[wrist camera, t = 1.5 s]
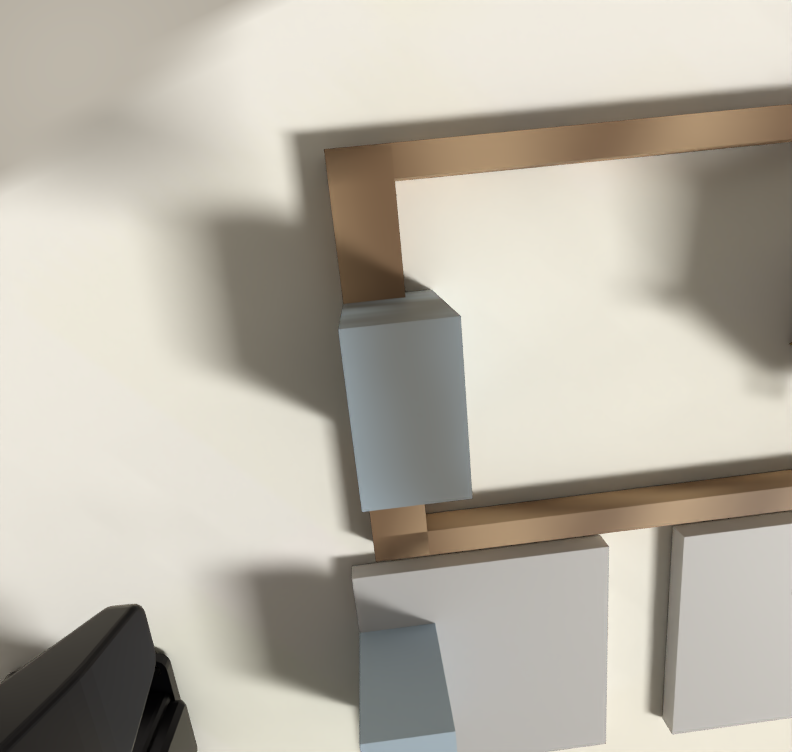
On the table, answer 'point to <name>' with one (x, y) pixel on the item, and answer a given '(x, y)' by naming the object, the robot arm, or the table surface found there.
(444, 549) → the wooden tray frame
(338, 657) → the table surface
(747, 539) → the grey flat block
